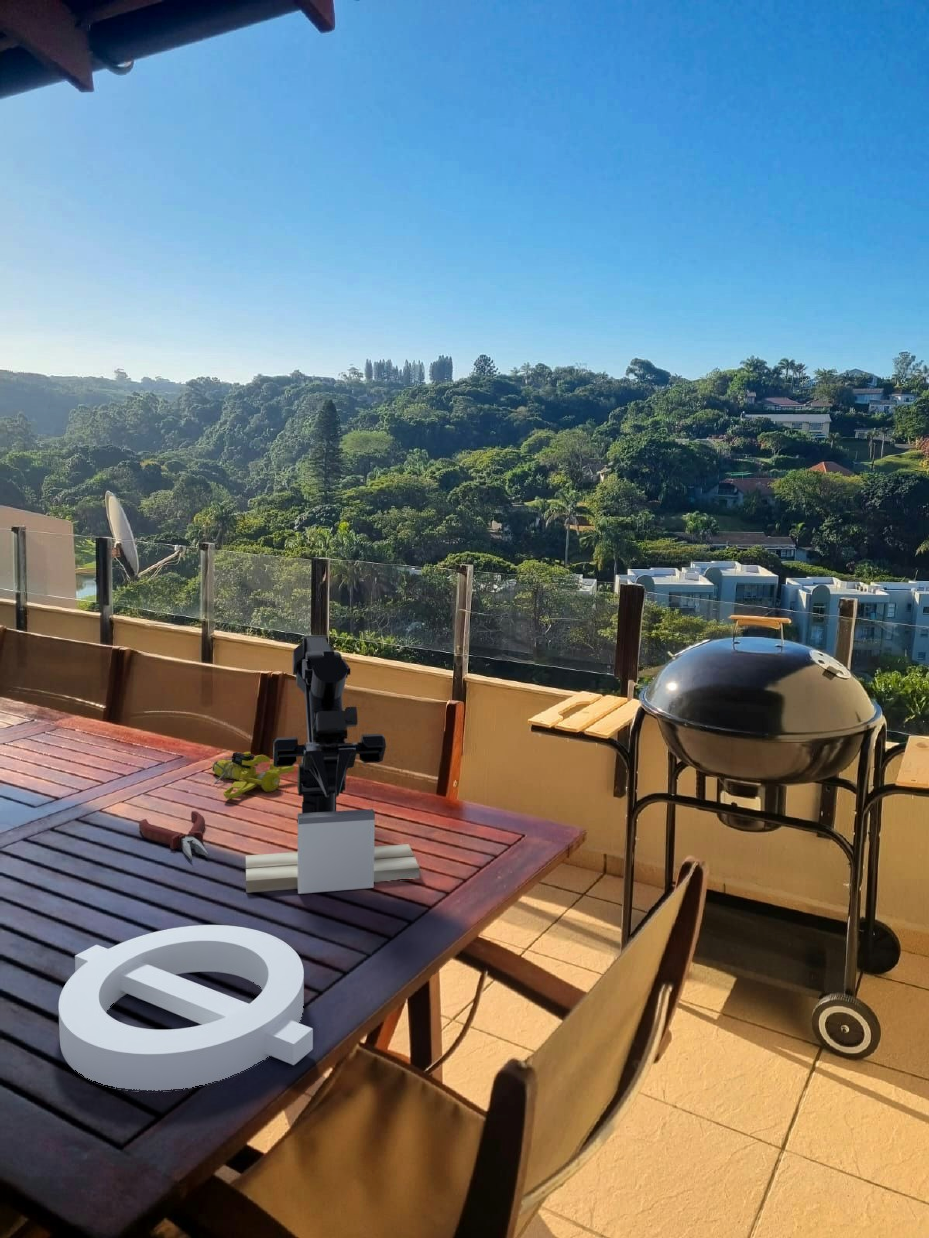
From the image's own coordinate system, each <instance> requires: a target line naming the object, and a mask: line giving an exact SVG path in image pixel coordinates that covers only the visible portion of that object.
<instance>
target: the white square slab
mask: <svg viewBox="0 0 929 1238" xmlns="http://www.w3.org/2000/svg"><path fill="white" fill-rule="evenodd" d="M297 819H298V823H297V852H298V885H297V888H298V889H297V894H299V895H300V894H301V895H302V894H312V893H313V894H314V893H325V892H336V891H337V892H339V891H348V890H349V891H350V890H351V891H352V890H362V889H363V890H364V889H372V888H373V889H374V888H375V887H374V886H375V885H374V884H375V883H374V847H375V832H376V831H375V826H376V813H375V811H374V808H367V809H355V810H354V809H352V810H349V809H348V810H336V811H332V812H315V813H302V812H301V813H300V812H299V813H297Z"/></svg>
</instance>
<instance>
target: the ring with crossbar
mask: <svg viewBox="0 0 929 1238" xmlns="http://www.w3.org/2000/svg"><path fill="white" fill-rule="evenodd" d="M74 962H75V963H74V964H75V967H74V968H75V969H74V971H75V972H74V973H73V974H72V975H71V976H70V977H69V978H68V980H66V983H65V985H64V986H63V988H62V989H61V992H60V995H59V999H58V1024H59V1025H58V1028H59V1045H60V1047H59V1048H60V1051H61V1054H62V1056H63V1058H64V1061H66V1063H67V1064H68V1066H69V1067H70V1068H71V1069H72V1070H74V1071H75V1070H76V1071H77V1072H78V1073H77V1072H76V1071H75V1072H76V1073H77V1074H79V1073H80V1074H82V1075H83V1076H84V1077H83V1076H82V1075H81V1076H82V1077H83V1078H85V1079H87V1078H88V1079H87V1080H89V1079H90V1080H89V1081H91V1080H92V1081H91V1082H93V1081H96V1082H98V1083H101V1084H103V1085H102V1086H104V1085H108V1086H113V1087H115V1088H114V1089H116V1087H117V1088H125V1089H132V1090H133V1089H135V1090H136V1089H137V1090H139V1089H140V1090H147V1091H148V1090H152V1091H153V1090H155V1091H158V1090H160V1091H161V1090H171V1089H172V1090H173V1089H183V1088H184V1089H183V1090H186V1089H185V1088H188V1089H193V1088H192V1087H194V1088H196V1087H195V1086H199V1085H203V1086H206V1085H205V1084H207V1085H209V1084H208V1083H211V1084H213V1083H212V1082H214V1081H218V1082H220V1080H221V1081H223V1080H222V1079H224V1080H226V1079H225V1078H227V1079H229V1078H231V1077H230V1076H232V1075H234V1074H237V1073H239V1074H241V1073H242V1072H241V1071H244V1070H246V1069H248V1068H250V1067H252V1066H253V1065H254V1064H257V1063H258V1062H260V1061H262V1060H264V1061H266V1060H267V1059H268V1058H270V1057H273V1058H275V1059H278V1060H280V1061H282V1062H285V1063H288V1064H290V1065H292V1066H295V1065H296V1064H297V1063H298V1062H300V1061H302V1059H303V1058H304V1057H305V1056H306V1055H308V1054H309V1053H310V1052H311V1051H313V1049H314V1028H312V1027H311V1026H307V1025H304V1024H302V1023H301V1021H302V1018H303V1015H302V1013H303V1014H304V1008H303V1006H304V1007H305V1005H304V1003H305V1001H304V1000H305V999H304V996H305V993H304V992H305V991H304V990H305V989H304V988H305V982H304V981H305V976H304V975H305V973H304V966H303V961H302V959H301V957H300V956H299V954H298V953H297V952H296V950H294V949H293V947H292V946H290V945H289V944H287V942H285V941H283V940H282V939H280V938H278V937H276V936H275V935H272V934H270V933H266V932H264V931H260V930H257V929H252V928H249V927H242V926H235V925H227V924H226V925H223V924H203V925H202V924H198V925H188V926H178V927H172V928H168V929H164V930H157V931H154V932H149V933H147V934H143V935H140V936H137V937H133V938H131V939H128V940H125V941H123V942H120V943H117V944H116V945H114V946H112V947H109V948H106V947H104V946H101V945H99V944H95V945H93V946H91V947H89V948H88V949H85V950H83V951H81V952H78V954H76V955H74ZM198 972H211V973H215V972H216V973H222V974H229V975H234V976H236V977H240V978H243V979H245V980H247V981H250V982H252V983H253V982H254V983H253V984H255V985H256V986H257V985H259V986H260V987H261V988H260V987H259V986H258V987H259V988H260V989H261V992H260V993H259V995H258V996H256V998H254V1000H252V1001H251V1002H250V1003H248V1002H246V1001H243V1000H240V999H237V998H235V997H232V996H230V995H228V994H225V993H223V992H220V991H218V990H214V989H212V988H209V987H207V986H204V985H202V984H199V983H197V982H194V981H192V980H189V979H186V978H184V977H182V976H179V975H180V974H189V973H198ZM127 994H128V995H130V996H132V997H135V998H137V999H139V1000H142V1001H145V1002H147V1003H150V1004H151V1005H154V1006H156V1007H159V1008H161V1009H164V1010H166V1011H168V1012H171V1013H173V1014H176V1015H178V1016H180V1017H182V1018H185V1019H188V1020H189V1021H192V1022H194V1023H197V1024H199V1025H195V1026H191V1027H182V1028H174V1029H173V1028H172V1029H153V1028H152V1029H151V1028H145V1027H144V1028H143V1027H138V1026H133V1025H129V1024H126V1023H124V1022H120V1021H119V1020H116V1019H115V1018H113V1017H112V1016H110V1014H108V1013H107V1012H108V1011H109V1010H110V1008H111V1007H112V1006H113V1005H114V1004H116V1002H118V1001H119V1000H120V999H121V998H122V997H124V996H125V995H127ZM113 1003H114V1004H113ZM112 1004H113V1005H112ZM111 1005H112V1006H111ZM110 1006H111V1007H110ZM107 1010H108V1011H107ZM301 1017H302V1018H301ZM300 1020H301V1021H300ZM299 1022H300V1023H299ZM269 1056H270V1057H269ZM267 1057H268V1058H267ZM266 1058H267V1059H266ZM262 1062H263V1061H262ZM257 1065H258V1064H257ZM252 1068H253V1067H252ZM250 1069H251V1068H250ZM248 1070H249V1069H248ZM246 1071H247V1070H246ZM240 1072H241V1073H240ZM244 1072H245V1071H244ZM80 1074H79V1075H80ZM237 1075H238V1074H237ZM234 1076H235V1075H234ZM228 1077H229V1078H228ZM232 1077H233V1076H232ZM98 1083H97V1084H98ZM214 1083H215V1082H214ZM101 1084H100V1085H101ZM199 1087H200V1086H199Z"/></svg>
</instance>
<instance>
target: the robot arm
mask: <svg viewBox="0 0 929 1238" xmlns="http://www.w3.org/2000/svg"><path fill="white" fill-rule="evenodd" d="M292 653H293V654H292V675H293V676H295V679H296V680H295V682H296V686H297V688H299V689H300V690H301V691H302V693H303V694H304V698H305V699H304V700H305V701H304V702H305V715H306V716H305V717H306V731H307V732H306V733H307V742H305V743H304V744H299V739H298V736H294V737H293V736H292V737H289V736H288V737H276V739H275V740H274V741H273V750H272V751H273V752H272V759H273V760H272V761H273V762H272V763H273V766H275V767H279V768H280V767H290V766H294V765H295V764H296V763H297V761H298V760H297V758H298V757H301V763H298V766H297V776H296V778H297V779H296V780H297V782H296V783H297V785H296V786H297V793H298V796H302V803H301V813H315V812H332V811H337V797H339V796H340V794H343V793H344V791H345V790H346V780H347V771H348V769H351V768H354V766H355V764H356V763H355V762H356V757H357V755H358V756H359V758H358V759H359V761H360V762H362V763H364V764H371V763H374V764H375V763H377V764H378V763H380V762H383V761H384V758H385V757H384V756H385V751H386V748H387V745H386V738H385V736H384V735H383V734H382V733H373V734H370V733H369V734H361V736H360V737H361V738H360V741H359V742H346V740H347V739H348V735H349V733H348V727H349V728H352V727H353V728H354V727H357V726H358V722H359V721H358V720H359V718H358V709H357V706H346V707H345V709H344V706H343V694H344V691H345V685H346V681H347V680H346V679H348V676H350V675H351V666H349V665H348V663H347V662H346V659H345V658H342V654H341V652H339V651H335V649H334V648H333V647H332V646H331V645H330V643H329V636H326V635H325V634H320V635H319V634H318V635H317V634H312V635H310V634H307V635H305V636H303V637H302V642H301V643H300V644H299V645H298V646H297V647H295V648H294V649H293V652H292ZM296 823H297V824H298V818H297V819H296Z"/></svg>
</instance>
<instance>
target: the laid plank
mask: <svg viewBox="0 0 929 1238" xmlns="http://www.w3.org/2000/svg"><path fill="white" fill-rule="evenodd" d="M420 871H421V870H420V865H419V863H418V860H417V859H416V856H415V854H414V853H413V850H412V848H411V846H410V844H408V843H407V844H393V845H392V844H391V845H379V846H377V845H376V846H374V882H375V883H381V882H380V881H387V880H397V879H409V878H418V877H419V878H420ZM297 885H298V851H292V852H291V851H290V852H277V853H266V854H265V853H263V854H248V855H245V893H246V894H247V893H261V892H271V891H272V892H273V891H284V890H295V889H297V890H298V888H297Z"/></svg>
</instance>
